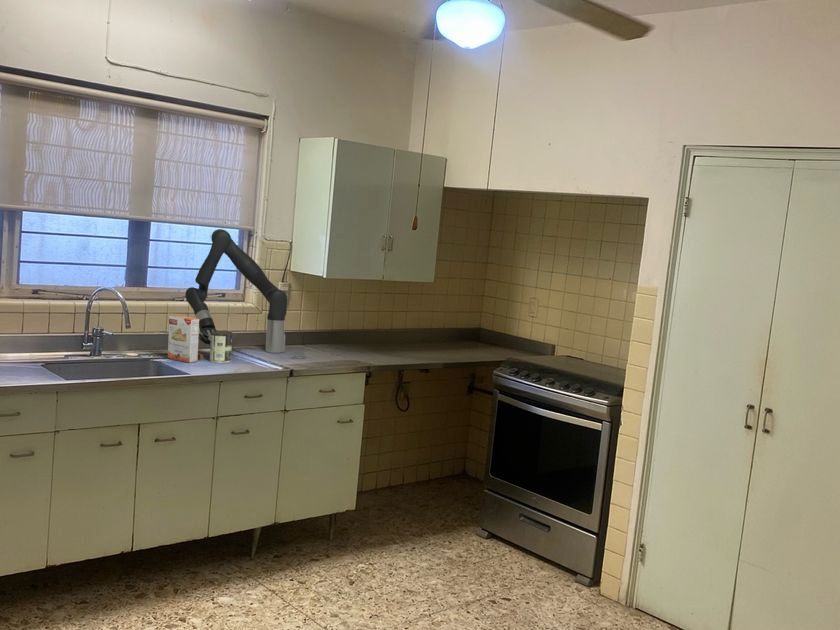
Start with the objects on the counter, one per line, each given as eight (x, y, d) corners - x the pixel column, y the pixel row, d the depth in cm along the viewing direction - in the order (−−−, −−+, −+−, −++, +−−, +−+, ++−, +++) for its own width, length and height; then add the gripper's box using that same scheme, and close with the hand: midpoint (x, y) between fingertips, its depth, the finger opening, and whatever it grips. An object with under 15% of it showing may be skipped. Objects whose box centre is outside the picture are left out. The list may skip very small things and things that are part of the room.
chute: (220, 354, 398) (220, 350, 398) (230, 358, 391) (230, 353, 391) (190, 356, 388) (191, 351, 387) (200, 360, 380) (200, 355, 380)
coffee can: (226, 358, 389) (228, 330, 387) (234, 362, 380) (235, 333, 379) (206, 359, 383) (207, 330, 382) (213, 363, 375) (214, 334, 373)
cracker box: (166, 359, 377) (168, 315, 375) (176, 357, 382) (177, 314, 380) (188, 363, 371) (190, 319, 368) (198, 361, 376) (199, 318, 374)
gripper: (195, 317, 386) (205, 346, 379) (220, 316, 395) (230, 344, 387) (189, 326, 391) (199, 355, 383) (214, 325, 400) (224, 353, 392)
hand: (215, 349), depth 385 cm, fingers closed
